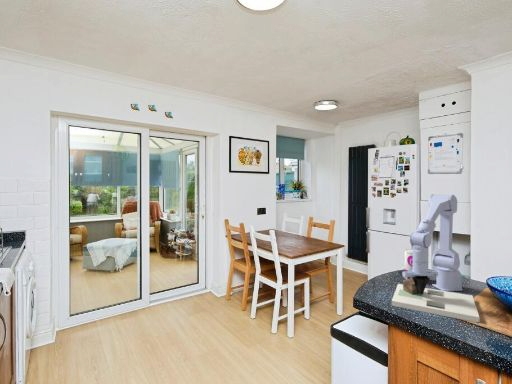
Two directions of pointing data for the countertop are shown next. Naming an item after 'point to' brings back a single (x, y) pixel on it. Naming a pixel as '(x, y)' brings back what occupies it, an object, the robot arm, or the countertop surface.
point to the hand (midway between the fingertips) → (420, 293)
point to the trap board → (438, 303)
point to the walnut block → (409, 286)
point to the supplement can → (408, 261)
